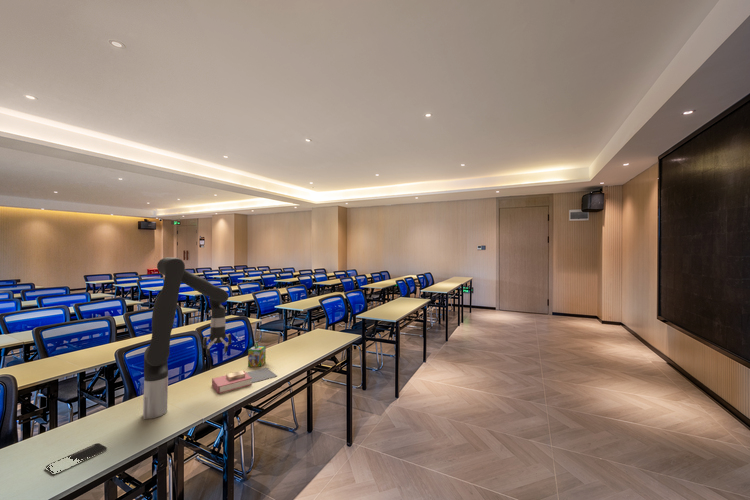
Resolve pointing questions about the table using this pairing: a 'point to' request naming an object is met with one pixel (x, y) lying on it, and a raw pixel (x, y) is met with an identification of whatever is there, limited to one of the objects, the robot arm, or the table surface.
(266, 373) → the desk mat
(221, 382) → the book deck
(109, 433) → the table surface
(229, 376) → the block
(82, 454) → the phone
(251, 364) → the chalk box
